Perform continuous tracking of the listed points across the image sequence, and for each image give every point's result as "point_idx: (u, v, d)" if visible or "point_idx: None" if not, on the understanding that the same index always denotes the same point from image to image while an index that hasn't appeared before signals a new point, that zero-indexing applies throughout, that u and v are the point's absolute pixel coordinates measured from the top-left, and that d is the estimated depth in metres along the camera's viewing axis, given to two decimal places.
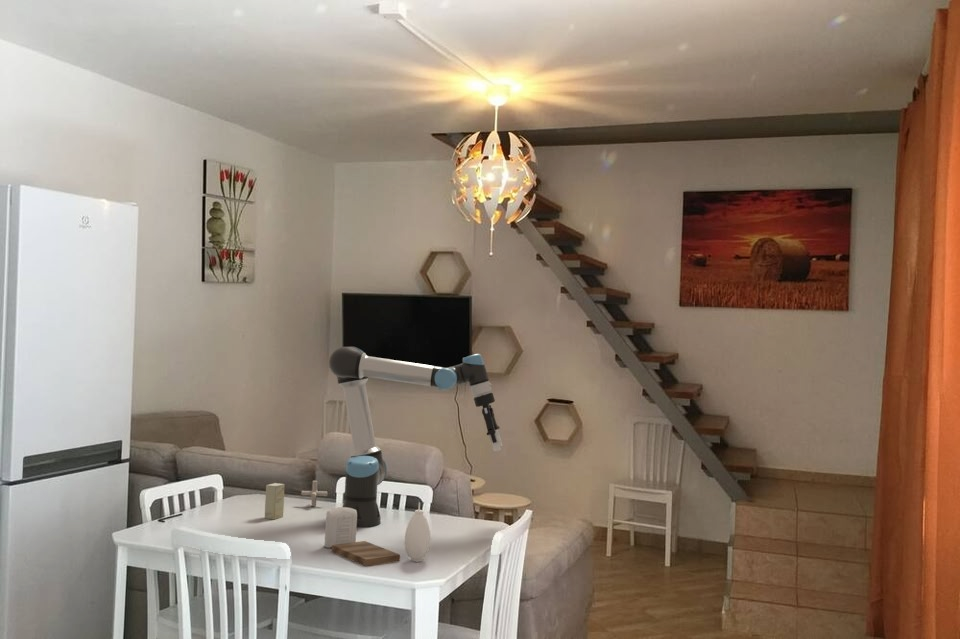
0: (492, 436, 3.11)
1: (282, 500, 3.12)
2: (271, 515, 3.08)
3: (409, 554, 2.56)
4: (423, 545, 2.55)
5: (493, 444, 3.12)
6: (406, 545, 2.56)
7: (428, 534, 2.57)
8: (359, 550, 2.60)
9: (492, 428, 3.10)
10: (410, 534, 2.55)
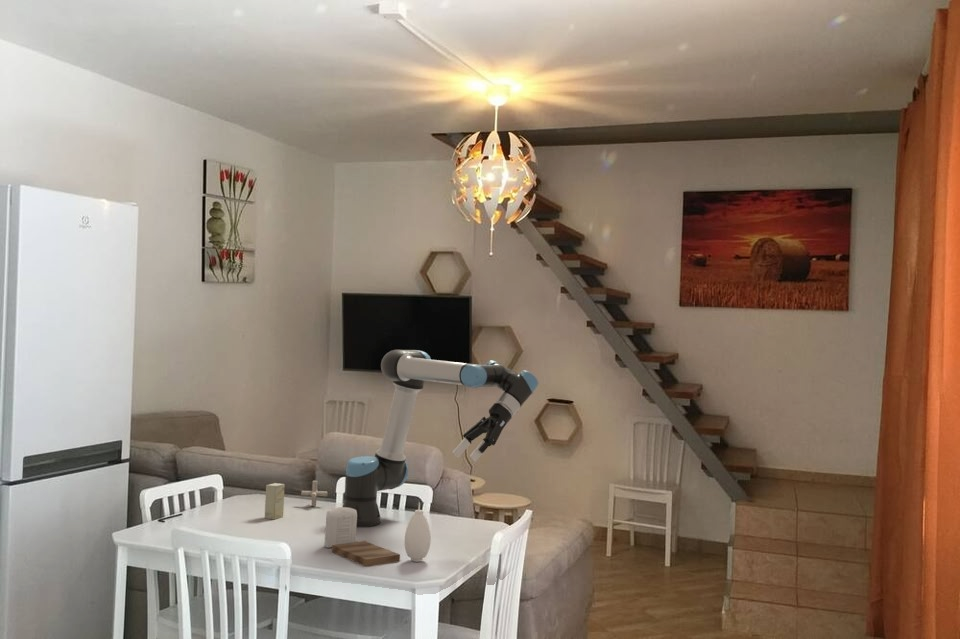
0: (485, 445, 2.72)
1: (282, 500, 3.12)
2: (271, 515, 3.08)
3: (409, 554, 2.56)
4: (423, 545, 2.55)
5: (477, 451, 2.72)
6: (406, 545, 2.56)
7: (428, 534, 2.57)
8: (359, 550, 2.60)
9: (495, 441, 2.72)
10: (410, 534, 2.55)
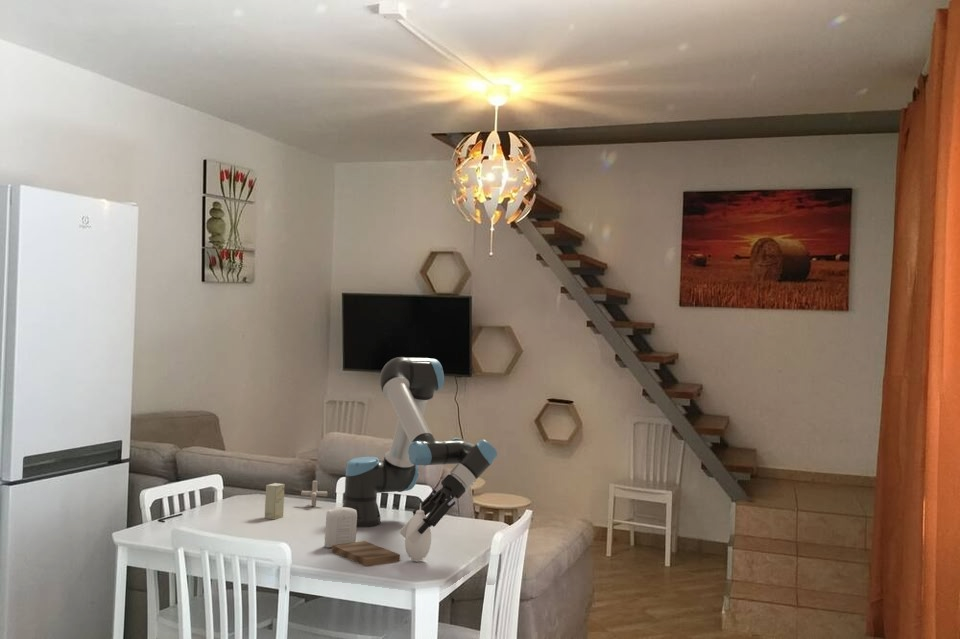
0: (425, 526, 2.54)
1: (282, 500, 3.12)
2: (271, 515, 3.08)
3: (409, 554, 2.56)
4: (424, 546, 2.55)
5: (415, 531, 2.53)
6: (406, 545, 2.56)
7: (429, 535, 2.56)
8: (359, 550, 2.60)
9: (435, 522, 2.53)
10: None
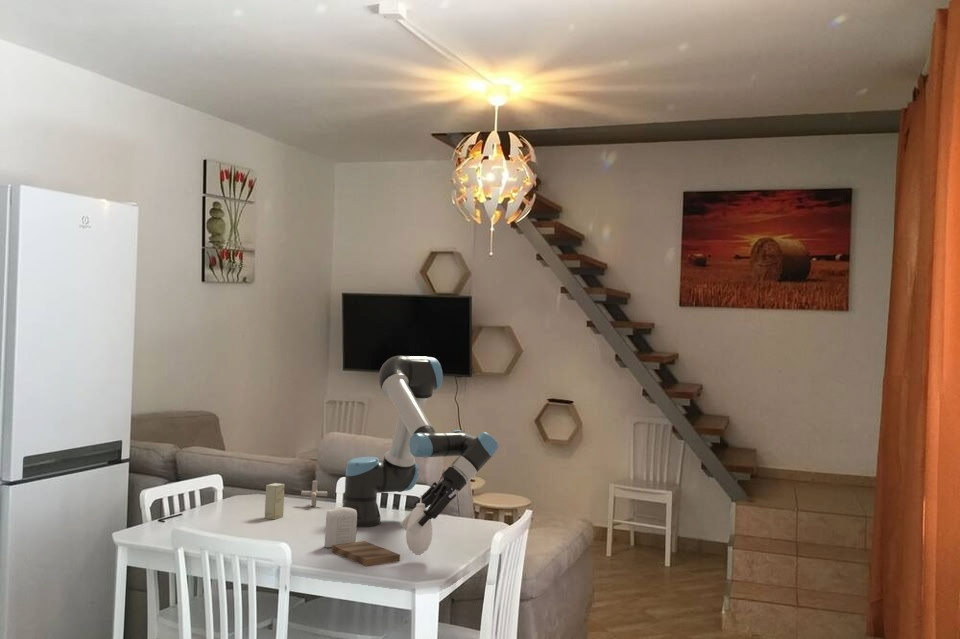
0: (425, 518, 2.54)
1: (282, 500, 3.12)
2: (271, 515, 3.08)
3: (410, 547, 2.56)
4: (425, 539, 2.55)
5: (416, 524, 2.53)
6: (407, 538, 2.56)
7: (430, 527, 2.56)
8: (359, 550, 2.60)
9: (436, 515, 2.53)
10: None
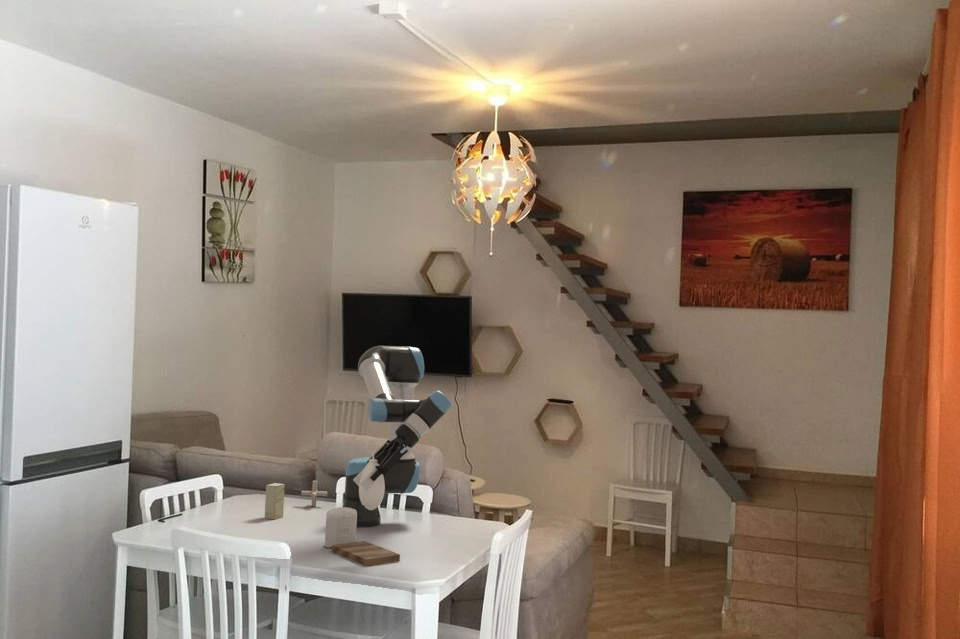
0: (377, 473, 2.58)
1: (282, 500, 3.12)
2: (271, 515, 3.08)
3: (363, 502, 2.59)
4: (377, 493, 2.59)
5: (368, 478, 2.57)
6: (360, 493, 2.60)
7: (382, 483, 2.60)
8: (359, 550, 2.60)
9: (388, 470, 2.57)
10: None
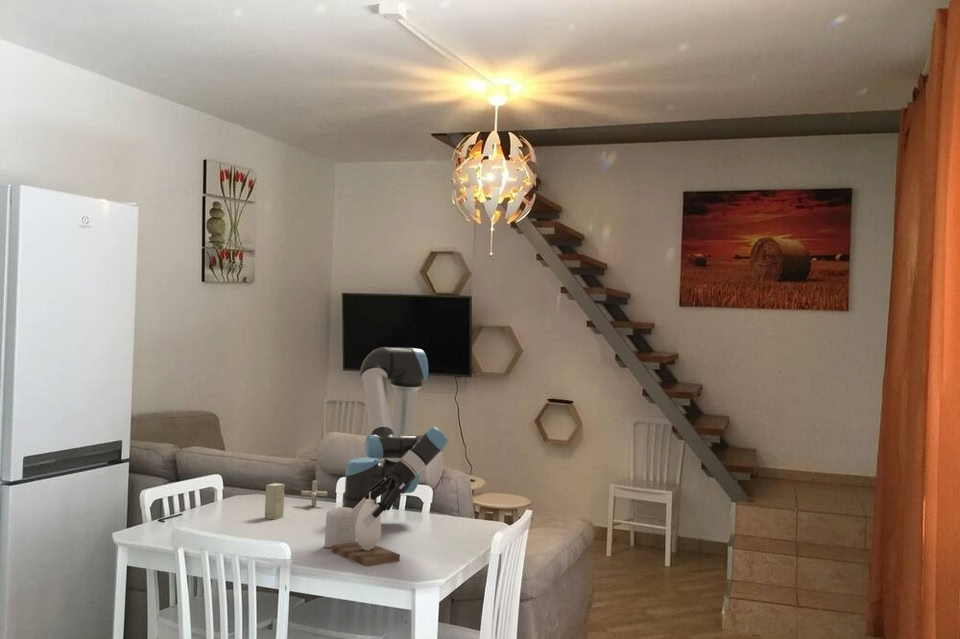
0: (379, 510, 2.55)
1: (282, 500, 3.12)
2: (271, 515, 3.08)
3: (359, 542, 2.59)
4: (373, 534, 2.58)
5: (370, 515, 2.55)
6: (356, 534, 2.59)
7: (378, 523, 2.60)
8: (359, 550, 2.60)
9: (390, 506, 2.55)
10: (360, 523, 2.59)
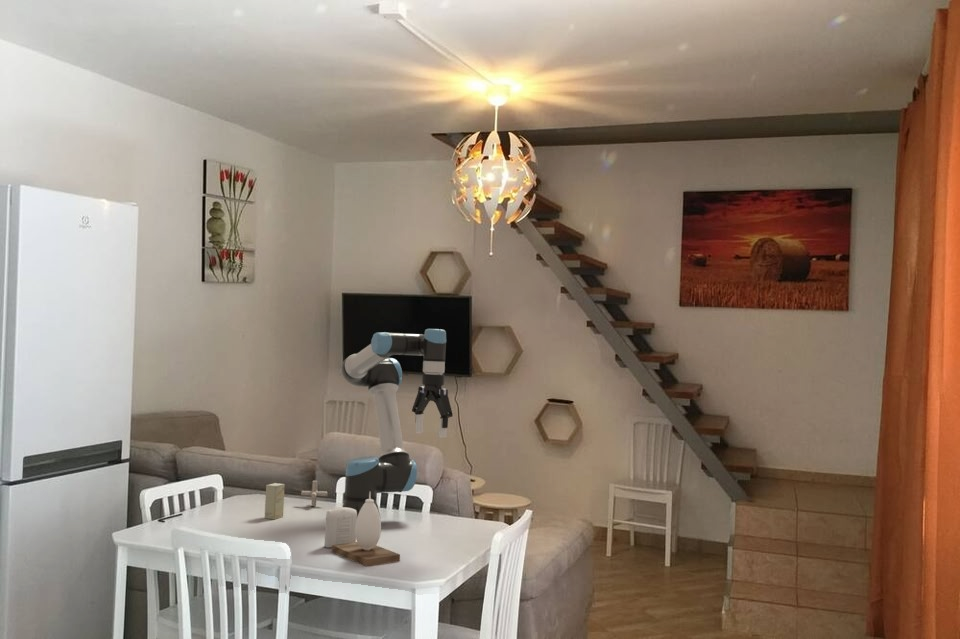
0: (445, 421, 2.86)
1: (282, 500, 3.12)
2: (271, 515, 3.08)
3: (359, 542, 2.59)
4: (373, 534, 2.58)
5: (442, 429, 2.86)
6: (356, 534, 2.59)
7: (378, 523, 2.60)
8: (359, 550, 2.60)
9: (451, 412, 2.85)
10: (360, 523, 2.59)
